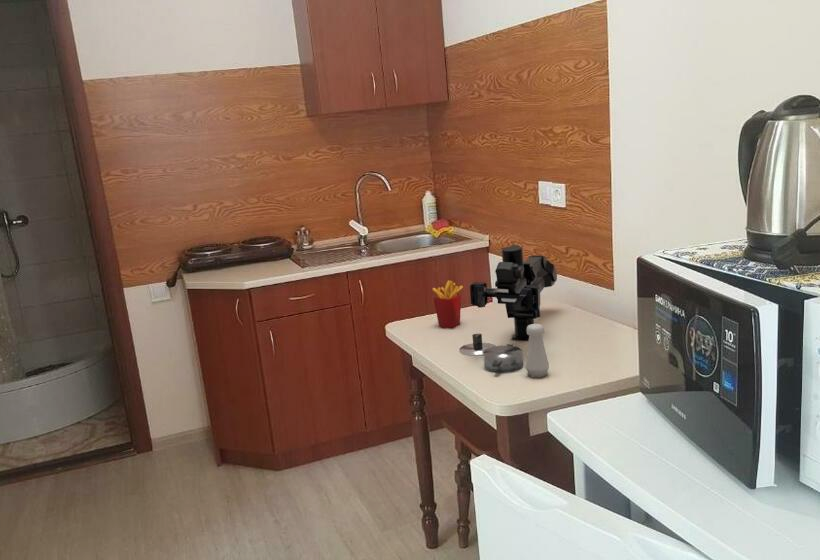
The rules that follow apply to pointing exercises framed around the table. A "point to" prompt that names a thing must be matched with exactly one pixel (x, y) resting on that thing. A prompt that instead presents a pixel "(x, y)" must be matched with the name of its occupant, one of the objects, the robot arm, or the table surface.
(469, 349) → the lid
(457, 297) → the french fries
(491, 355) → the pot
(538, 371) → the salt shaker
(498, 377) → the table surface
